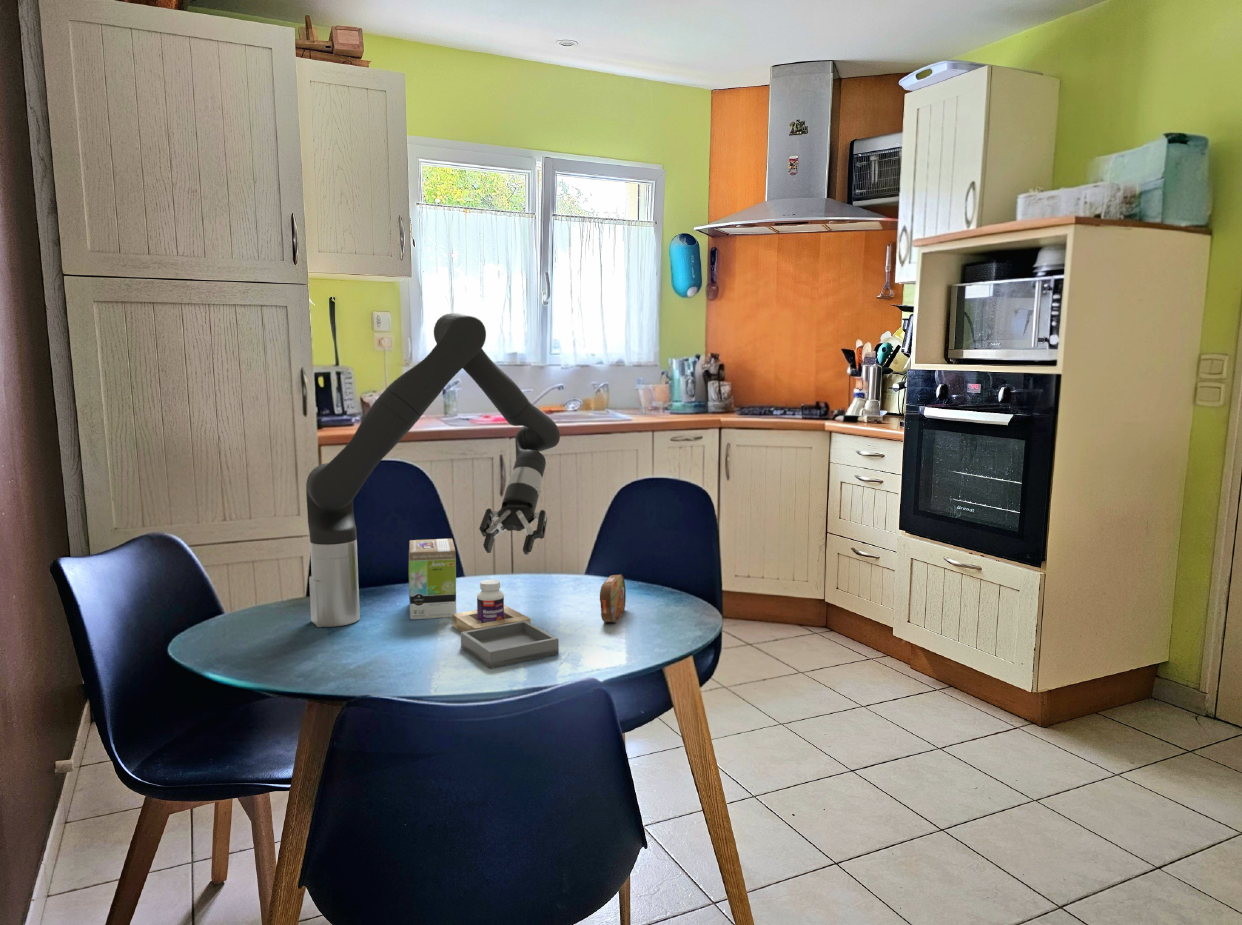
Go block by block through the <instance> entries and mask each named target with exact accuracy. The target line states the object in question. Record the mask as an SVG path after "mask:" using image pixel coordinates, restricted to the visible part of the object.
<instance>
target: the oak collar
mask: <svg viewBox="0 0 1242 925" xmlns="http://www.w3.org/2000/svg"><path fill="white" fill-rule="evenodd" d="M521 621H527V622H529V623H531V622H532V621H531V618H530V617H529V616H527V615H526V614H523V613H521V612H520V611H517V610H516V609H514V608H511V607H510V606H507V605H506V604H504V619H503V620H498V621H492V622H486V623H480V622H479V621H477V609H474V610H468V611H462V612H456V613H455V614H452V617H451V623H452V624H451V626H452V627H453V628H454V629H456V630H457V631H459V632H460V633H461V632H465V631H471V630H476V629H482V628H487V627H493V626H498V625H504V624H509V623H515V622H521ZM531 624H532V623H531Z"/></svg>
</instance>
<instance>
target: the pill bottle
mask: <svg viewBox="0 0 1242 925" xmlns="http://www.w3.org/2000/svg"><path fill="white" fill-rule="evenodd" d="M479 583H480V584H479V587H480V591H479V592H478V593H477V595H476V604H477V605H476V606H477V607H476V610H477V621H479V622H480V623H486V622H492V621H498V620H503V619H504V605H505V594H504V592H503V591H502V590H500V589H501V581H500V580H499V579H484V580H481V581H480V582H479Z"/></svg>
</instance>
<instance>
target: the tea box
mask: <svg viewBox="0 0 1242 925" xmlns="http://www.w3.org/2000/svg"><path fill="white" fill-rule="evenodd" d="M456 553H457V552H456V547H455V544H454V540H453V538H435V539H433V538H432V539H431V538H429V539H414V540H413V539H412V540H411V539H410V540H409V543H408V597H409V600H408V602H409V618H410V620H431V619H444V618H452V614H455V613H457V564H456V563H457V558H456Z"/></svg>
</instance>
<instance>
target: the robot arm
mask: <svg viewBox="0 0 1242 925" xmlns="http://www.w3.org/2000/svg"><path fill="white" fill-rule="evenodd" d="M433 338H434V340H435V343H436V345H435V346H434V347H433V348H432V350H431V351H430V352H429V353H428V354H427V356H426V357H424V358H423V359H422V360H421V361H419V363H417V364H415V365H414V366H412V367H411V368H410V369H408V370H406V371H405V372H404V373H403V374H401V375H400V376H399V377H397V378H396V379H395V380H393V381H392V382H391V383H390V384H389V385H388V386H387V387H386V388H385V390H384V391H383V392H382V393H381V394H380V395H379V396H378V398H377V399H376V400H375V401H374V402H373V403H372V405H371V406H370V408H369V409H368V411H367V413H366V414H365V415H364V416H363V419H362V420H361V422H360V423H359V425H358V426H357V427H358V428H357V429H356V431H355V433H354V434H353V436H352V438H351V439H350V440H349V442H348V443H346V445H345V446H344V447H343V449H341V451H339V452H338V454H337V455H336V456H334V458H332V460H330V461H329V462H327V463H322V464H319V465H317V466H316V467H314V468H313V469H312V470H311V471H310V472H309V474H308V476H307V479H306V484H305V485H306V486H305V490H306V491H305V492H306V496H305V497H306V510H307V511H306V512H307V524H308V525H307V526H308V533H309V546H310V567H311V568H310V570H311V572H310V573H311V574H310V576H309V578H308V579H309V580H308V582H309V602H310V603H309V605H310V606H309V607H310V621H311V622H312V623H313V624H314V625H315V627H317V628H322V627H327V628H328V627H329V628H330V627H341V626H347V625H351V624H354V623H356V622H358V621H359V620H360V612H361V611H360V610H361V608H360V590H359V564H358V541H357V540H358V538H357V537H358V536H357V535H358V534H357V526H356V521H355V515H354V513H355V512H354V499H355V498H356V496H357V495H358V493H359V492H360V490H361V489H362V487H363V485H364V484H365V483H366V481H367V479H368V478H369V476H371V474H372V472H373V471H374V469H375V468H376V467H377V466H378V464H379V463H380V462H381V461H382V460H383V459H384V458H385V457H386V456H387V455H388V454H389V453H390V452H391V451H392V450H393V449H394V447H395V446H397V444H398V443H400V441H401V440H402V439H403V438H404V437H405V436H406V435H407V433H409V431H410V430H412V428H413V427H414V426H415V424H416V423H418V421H419V420H420V418H421V417H422V416H423V415H424V413H425V412H426V411H427V409H428V408H429V407H431V406H430V405H432V403H433V402H434V401H435V400H436V399H437V397H439V395H440V393H441V392H442V391H443V390H444V389H445V387H446V386H447V385H448V384H449V383H450V381H452V379H454V377H455V376H456V375H457V374H458V373H459V372H460V371H461V370H462V369H463V370H464V371H465V373H466V374H468V376H470V378H471V379H472V380H473V381H474V382H475V384H477V386H478V387H479V388H480V389H481V391H483V393H484V394H485V396H487V398H488V400H490V402H491V403H492V404H493V406H494V407H495V408H496V409H497V410H498V412H499V413H500V415H501V416H502V417H503V418H504V420H505V421H506V422H507V423H508V424H509V425H511V426H513V427H514V426H515V427H520V428H519V429H518V430H517V432H516V434H515V438H514V439H515V440H514V442H515V444H514V445H515V462H514V465H513V468H512V472H511V474H510V476H509V478H508V482H507V484H506V489H505V492H504V496H503V499H502V502H501V508H499V510H498V511H494V510H492V508H487V509H485V512H484V515H483V517H482V521H481V522H480V525H479V528H478V530H479V531H480V534H481V535H482V537H485V538H484V541H483V548H484V550H485V552H486V554H491V553H492V551H493V550H492V549H493V546H494V543H495V538H496V537H497V536H498V535H502V534H503V533H504V532H505V531H507V532H508V531H509V532H510V531H517V532H521V531H523V530H524V532H525V533H526V535H525V538H524V543H523V548H522V551H523V554H524V555H527V556H528V555H529V553H531V552H532V550H533V548H534V543H535V541H536V540H537V539H541V540H542V539H544V538H545V534H546V528H547V523H548V516H547V513H546V510H544V509H542V510H540V511H539V512H536V508H537V505H538V502H539V497H540V495H541V491H542V490H541V489H542V482H543V478H544V472H545V469H546V465H547V464H546V462H547V460H546V458H545V456H544V454H542V453H541V452H543V451H547V450H550V449H553V448H555V447H556V446H557V445H558V444H559V443H560V439H561V432H560V430H559V428H558V425H557V424H556V422H554V419H552V418H551V417H550V416H548V415H547V414H546V413H544V412H543V411H542V410H541V409H539V408H538V407H537V406H535V405H533V403H531V402H530V400H529V399H528V397H527V396H526V394H525V393H524V392H523V391H522V389H521V388H520V387H519V386H518V385H517V383H515V381H514V380H513V379H512V378H511V377H510V376H509V375H508V374H506V372H504V370H502V369H501V368H500V367H499V366H498V365H497V364H496V363H495V362H494V361H492V359H491V358H490V357H489V355H488V354H487V353H486V352H485V351H484V349H483V347H484V345H485V343H486V339H487V332H486V326H485V324H484V323H483V321H482V320H481V319H479V318H478V317H476V316H473V315H472V314H471V315H470V314H466V313H460V312H459V313H458V312H456V313H455V312H451V313H450V312H449V313H446V314H443V315H442V316H440V317H439V318H438V319H437V320H436V322H435V324H434V327H433ZM534 520H536V521H537V525H536V530H533V529H532V527H531V525H530V524H531V523H532V522H534Z"/></svg>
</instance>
